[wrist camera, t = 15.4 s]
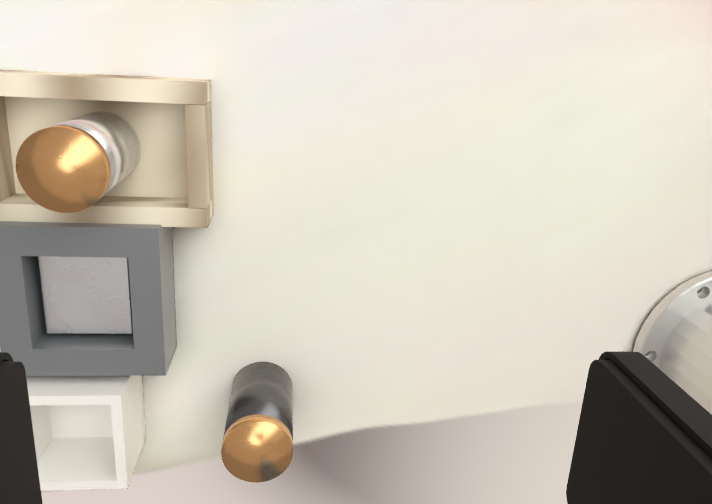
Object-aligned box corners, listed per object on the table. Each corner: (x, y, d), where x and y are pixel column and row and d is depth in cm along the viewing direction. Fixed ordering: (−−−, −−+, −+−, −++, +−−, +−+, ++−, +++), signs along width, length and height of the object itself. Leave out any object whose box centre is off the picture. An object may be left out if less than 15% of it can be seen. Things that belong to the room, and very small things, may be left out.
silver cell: (138, 112, 35) (103, 128, 28) (142, 182, 36) (109, 214, 29) (63, 109, 34) (10, 125, 28) (70, 180, 36) (21, 212, 29)
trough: (210, 79, 35) (203, 82, 32) (213, 214, 38) (207, 228, 35) (-14, 69, 34) (-41, 71, 31) (4, 209, 36) (-20, 223, 33)
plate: (130, 252, 36) (126, 257, 35) (135, 327, 38) (131, 333, 37) (43, 251, 36) (38, 255, 35) (52, 327, 37) (47, 333, 36)
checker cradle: (171, 210, 37) (158, 228, 34) (176, 345, 40) (165, 375, 37) (13, 207, 36) (-17, 224, 33) (30, 345, 39) (4, 376, 36)
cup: (140, 354, 40) (120, 395, 35) (146, 438, 42) (127, 488, 37) (36, 354, 39) (2, 396, 35) (46, 440, 41) (15, 491, 37)
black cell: (292, 361, 41) (293, 422, 35) (291, 413, 43) (291, 481, 36) (231, 362, 41) (220, 422, 34) (232, 414, 42) (221, 483, 36)
